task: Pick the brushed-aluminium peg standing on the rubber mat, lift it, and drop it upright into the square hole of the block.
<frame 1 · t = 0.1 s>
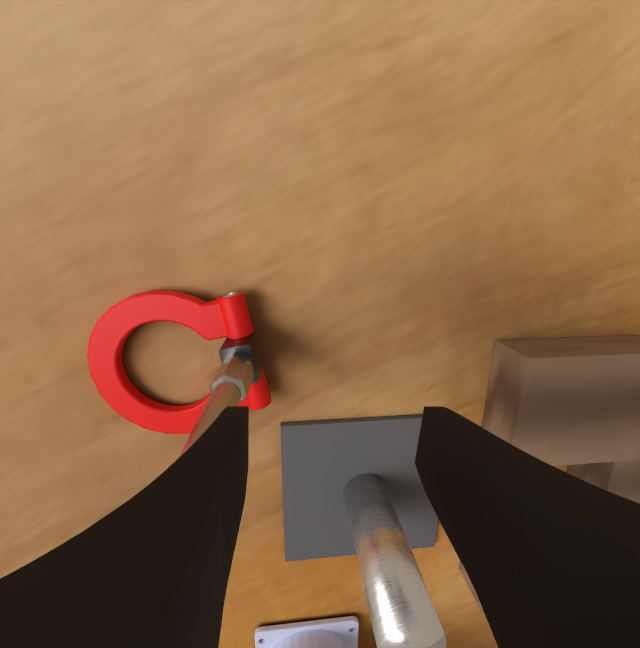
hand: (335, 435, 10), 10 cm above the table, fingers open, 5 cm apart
mat: (363, 487, 24), on the table
peg: (364, 492, 23), resting on mat
tow hook: (182, 358, 20), on the table, touching gripper
hole block: (540, 462, 25), on the table
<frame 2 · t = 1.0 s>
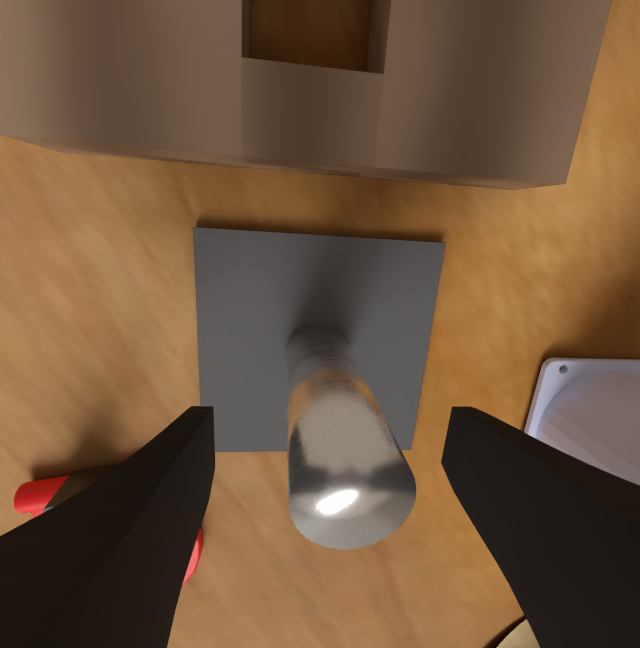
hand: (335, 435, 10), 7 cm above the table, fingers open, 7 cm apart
mat: (316, 350, 17), on the table
peg: (316, 353, 17), resting on mat
tow hook: (125, 527, 19), on the table
hole block: (311, 29, 13), on the table
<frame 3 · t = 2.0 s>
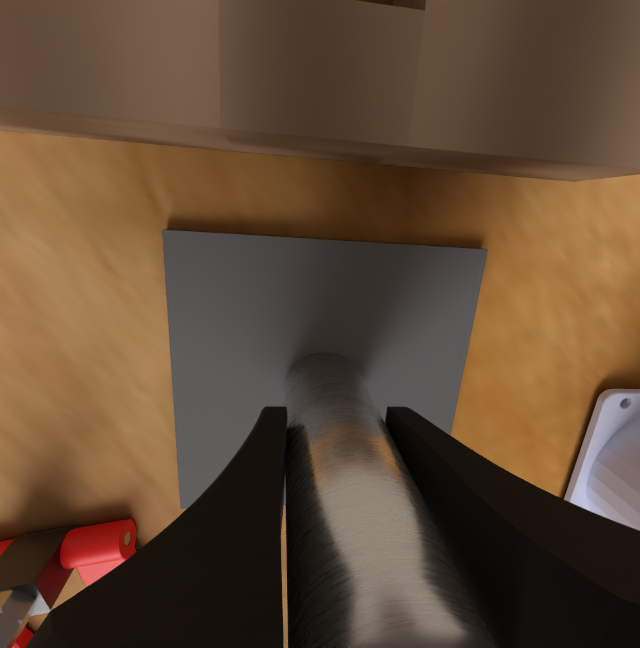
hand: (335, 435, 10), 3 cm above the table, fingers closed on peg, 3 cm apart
mat: (322, 383, 14), on the table
peg: (323, 388, 13), resting on mat, touching gripper
tow hook: (89, 594, 16), on the table
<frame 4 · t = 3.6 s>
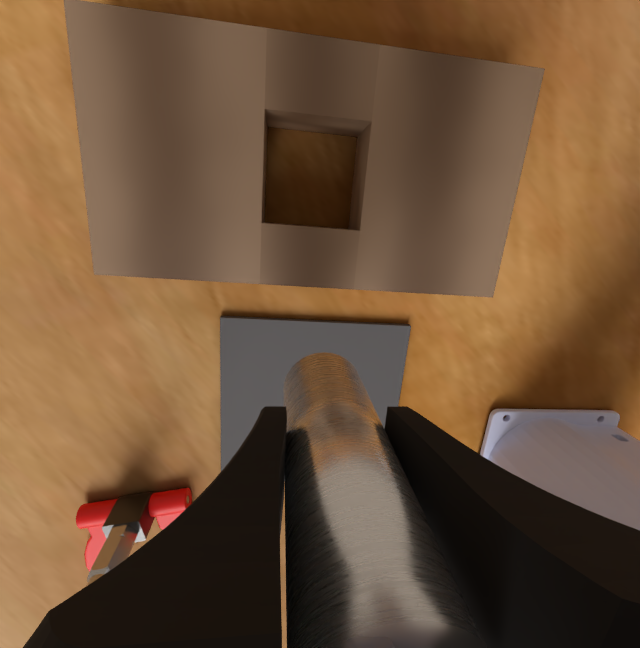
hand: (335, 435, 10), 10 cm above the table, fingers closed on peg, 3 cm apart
mat: (311, 403, 22), on the table
peg: (322, 388, 13), point 7 cm above the table, touching gripper
tow hook: (157, 539, 24), on the table
hole block: (309, 180, 18), on the table
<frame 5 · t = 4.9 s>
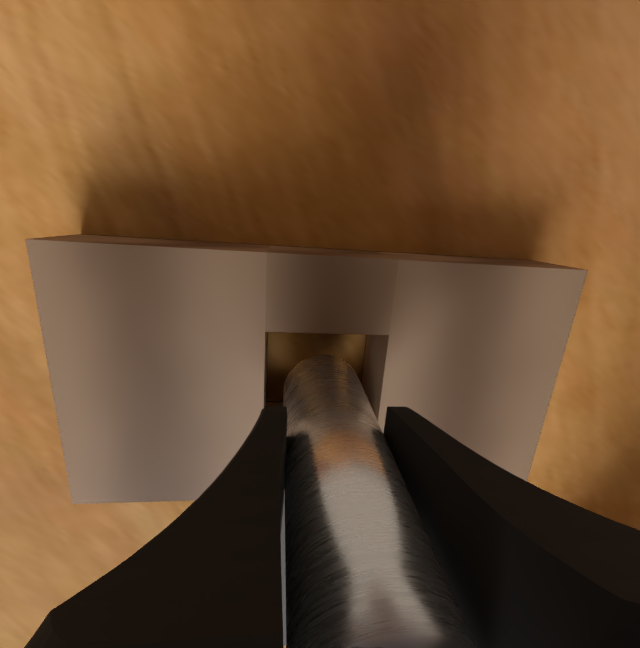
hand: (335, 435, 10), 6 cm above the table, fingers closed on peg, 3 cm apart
mat: (319, 568, 20), on the table
peg: (321, 389, 14), point 3 cm above the table, touching gripper
hole block: (316, 358, 16), on the table
when the fingers open (4 cm above the table, at t = 5.5 s): peg drops 1 cm, resting in hole block.
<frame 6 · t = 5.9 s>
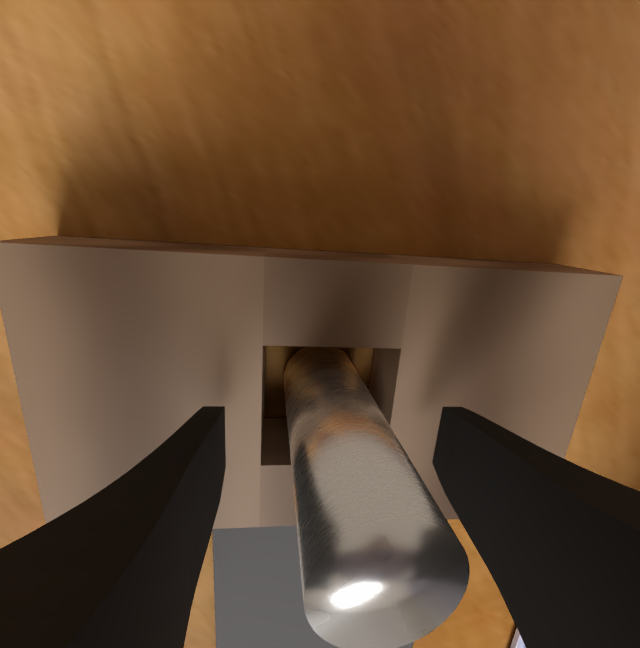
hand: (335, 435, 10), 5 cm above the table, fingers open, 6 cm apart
mat: (322, 593, 19), on the table
peg: (319, 376, 15), resting in hole block
hole block: (319, 371, 15), on the table
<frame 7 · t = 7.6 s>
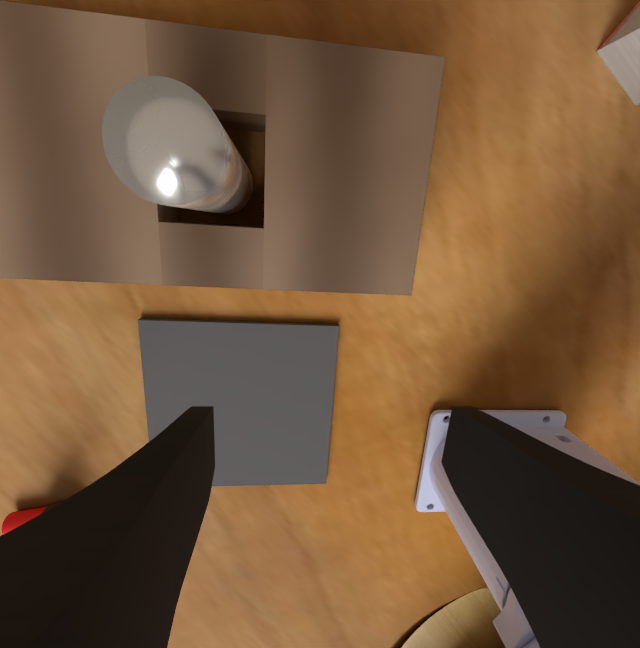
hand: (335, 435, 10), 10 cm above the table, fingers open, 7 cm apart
mat: (242, 407, 21), on the table
peg: (222, 182, 17), resting in hole block
tow hook: (94, 547, 24), on the table
hole block: (222, 177, 17), on the table
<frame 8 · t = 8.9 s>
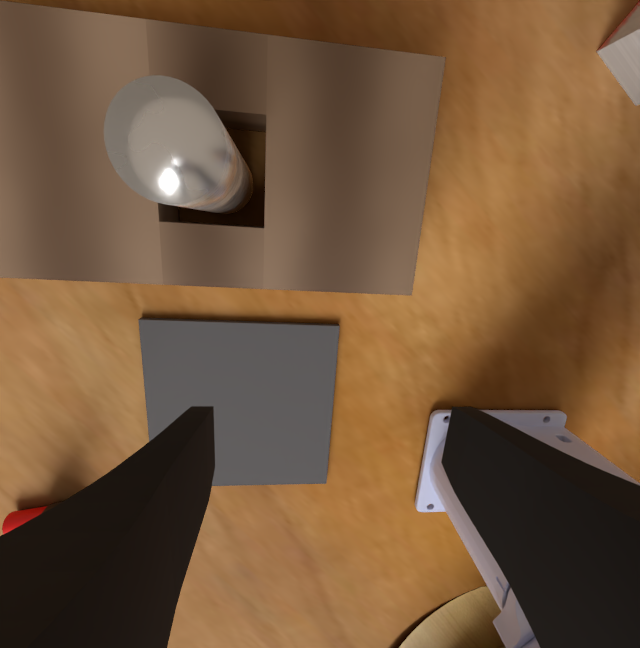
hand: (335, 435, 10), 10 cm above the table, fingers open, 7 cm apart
mat: (243, 406, 21), on the table
peg: (223, 182, 17), resting in hole block
tow hook: (94, 546, 24), on the table
hole block: (223, 177, 17), on the table
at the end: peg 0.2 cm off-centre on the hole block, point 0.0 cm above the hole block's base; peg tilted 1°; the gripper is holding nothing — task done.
